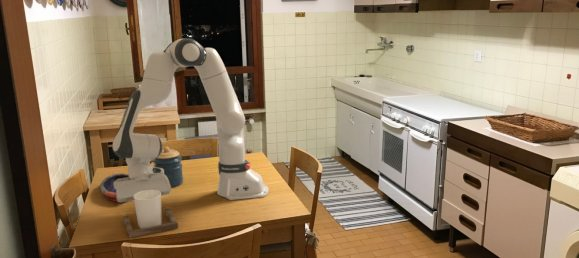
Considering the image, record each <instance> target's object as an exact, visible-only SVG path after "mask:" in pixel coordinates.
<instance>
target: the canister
mask: <svg viewBox="0 0 579 258" xmlns="http://www.w3.org/2000/svg"><path fill="white" fill-rule="evenodd" d="M182 160H183V158H182V156H181V155H180V152H179V151H177V150H175V149H170V147H168V146H165V147H163V149H162V153H161V154H160V155H159V156H158V157H157V158H156V159H154V160H153V161H152V163H153V167H156V168H163V169H164V175H166V176H167V178H168V180H169V183H170V186H171V189H172V188H176V187H180V185H182V184H183V182H184V175H183V164H182Z"/></svg>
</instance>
